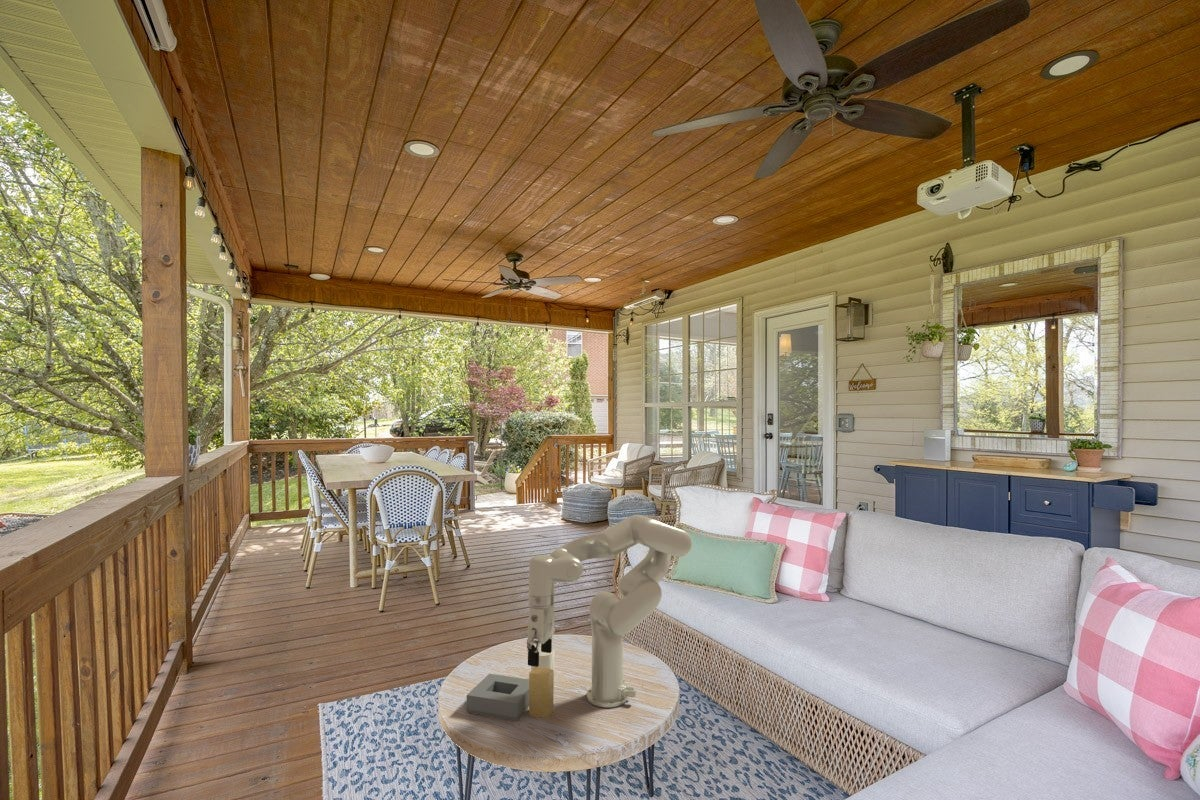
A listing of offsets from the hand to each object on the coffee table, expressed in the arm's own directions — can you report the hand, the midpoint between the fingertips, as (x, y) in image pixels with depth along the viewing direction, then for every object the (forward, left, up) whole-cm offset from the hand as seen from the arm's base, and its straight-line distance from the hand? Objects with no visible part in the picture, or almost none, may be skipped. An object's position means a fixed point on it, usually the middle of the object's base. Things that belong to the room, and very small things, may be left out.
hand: (539, 658), depth 160 cm
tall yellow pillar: (0, 0, -16) cm, 16 cm away
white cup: (+7, -18, -16) cm, 25 cm away
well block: (+13, -1, -16) cm, 20 cm away
